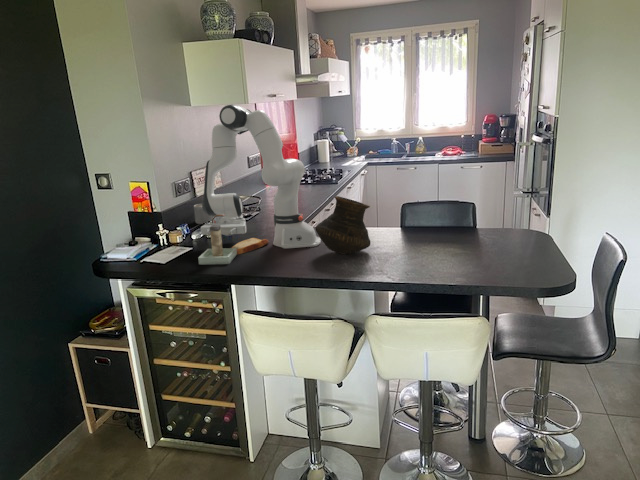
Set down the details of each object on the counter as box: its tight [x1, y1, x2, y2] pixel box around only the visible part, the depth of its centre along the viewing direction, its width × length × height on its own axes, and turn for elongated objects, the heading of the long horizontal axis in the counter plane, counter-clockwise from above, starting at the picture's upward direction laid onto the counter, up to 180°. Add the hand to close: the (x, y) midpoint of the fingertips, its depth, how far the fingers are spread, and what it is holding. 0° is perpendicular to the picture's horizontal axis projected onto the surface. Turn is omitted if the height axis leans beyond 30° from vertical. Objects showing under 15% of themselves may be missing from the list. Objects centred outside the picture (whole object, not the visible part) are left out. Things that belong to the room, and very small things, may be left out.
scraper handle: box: [210, 225, 223, 257], centre depth 206 cm, size 4×4×14 cm
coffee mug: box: [193, 203, 214, 225], centre depth 280 cm, size 13×10×10 cm
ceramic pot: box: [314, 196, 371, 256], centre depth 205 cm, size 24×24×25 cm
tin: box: [211, 214, 225, 223], centre depth 260 cm, size 15×3×8 cm, turn 84°
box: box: [197, 247, 238, 265], centre depth 208 cm, size 13×13×3 cm
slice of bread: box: [231, 237, 269, 255], centre depth 224 cm, size 18×18×4 cm
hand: (219, 233), depth 210 cm, fingers open, 8 cm apart
